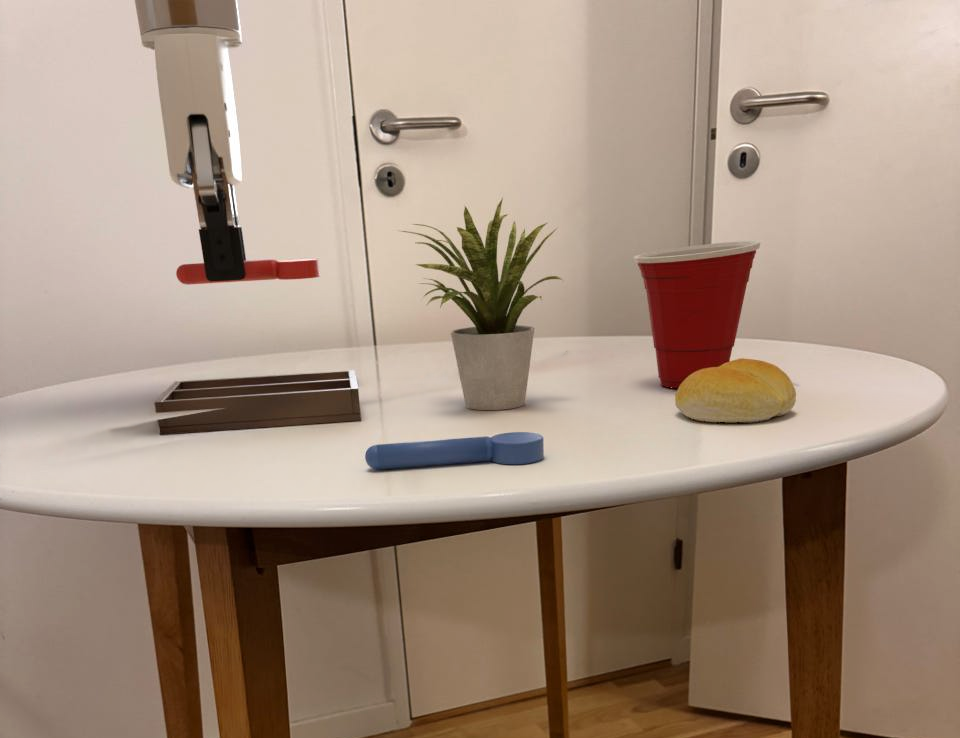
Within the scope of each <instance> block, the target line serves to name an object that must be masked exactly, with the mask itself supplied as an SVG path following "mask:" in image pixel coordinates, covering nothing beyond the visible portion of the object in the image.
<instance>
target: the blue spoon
mask: <svg viewBox="0 0 960 738" xmlns="http://www.w3.org/2000/svg"><path fill="white" fill-rule="evenodd" d="M544 452H545V451H544V435H542V434H539V433H535V432H529V431H528V432H527V431H515V432H514V431H513V432H512V431H511V432H504V433H503V432H502V433H498V434H495V435H493V436H474V437H473V436H472V437H461V438H460V437H459V438H448V439H434V440H433V439H432V440H422V441H421V440H420V441H407V442H394V443H393V442H392V443H380V444H373V445H371V446H369V447H368V448H367V450H366V451H365V454H364V459H365V460H364V461H365V463H366V464H367V466H368V467H369V468H371V469H373V470H388V469H401V468H414V467H428V466H439V465H440V466H441V465H452V464H453V465H454V464H466V463H478V462H479V463H481V462H489V461H491V462H492V463H493V462H494V463H495V464H500V465H526V464H532V463H537V462H539V461H541V460H543V458H544V457H545V456H544V455H545V454H544Z"/></svg>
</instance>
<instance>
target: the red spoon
mask: <svg viewBox="0 0 960 738" xmlns="http://www.w3.org/2000/svg"><path fill="white" fill-rule="evenodd" d="M244 265H245V272H246V276H245V278H244V279H242V280H228V281H209V280H207V278H206V273H205V266H204V262H201V263H200V262H199V263H186V264H185V263H182V264H181V265H179V266H178V267H177V268H176V272H175V275H176V278H177V280H178V282H180V283H181V284H183V285H186V286H187V285H203V284H204V285H205V284H222V283H236V282H239V283H240V282H255V281H270V280H271V281H273V280H277V279H278V280H279V281H280V280H282V281H283V280H285V281H286V280H289V281H290V280H305V279H306V280H307V279H315V278H316V279H317V278H321V271H320V269H321V268H320V260H319V258H299V259H285V260H277V259H274V258H273V259H272V258H270V259H269V258H268V259H253V260H249V259H248V260H246V261H244Z"/></svg>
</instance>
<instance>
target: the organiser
mask: <svg viewBox="0 0 960 738" xmlns="http://www.w3.org/2000/svg"><path fill="white" fill-rule="evenodd" d="M360 403H361V402H360V392H359V386H358V380H357V376H356V371H355V369H347V370H331V371H330V370H329V371H317V372H316V371H315V372H301V373H287V374H286V373H285V374H270V375H269V374H268V375H254V376H239V377H223V378H209V379H207V378H206V379H194V380H193V379H192V380H178V381H176V380H175V381H174V382H173V383H172V384H171V385H169V387H168V388H167V389H166V390H165V391H164V392H163V393H162V394H161V395H160V397H158V398H157V399H156V400H155V401H154V402H153V404H154V409H155V414H157V413H158V414H161V413H175V412H177V413H178V412H189V411H190V412H191V411H201V412H196V413H195V412H194V413H187V414H183V415H178V416H172V417H165V418H159V419H157V421H156V422H157V425H158V431H159V435H161V436H163V435H177V434H178V435H179V434H192V433H205V432H207V433H208V432H219V431H220V432H221V431H232V430H233V431H234V430H247V429H248V430H249V429H260V428H261V429H263V428H274V427H275V428H277V427H288V426H289V427H290V426H304V425H316V424H330V423H331V424H332V423H345V422H361V421H362V416H361V415H362V414H361V413H362V412H361V404H360ZM204 410H207V411H204Z"/></svg>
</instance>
